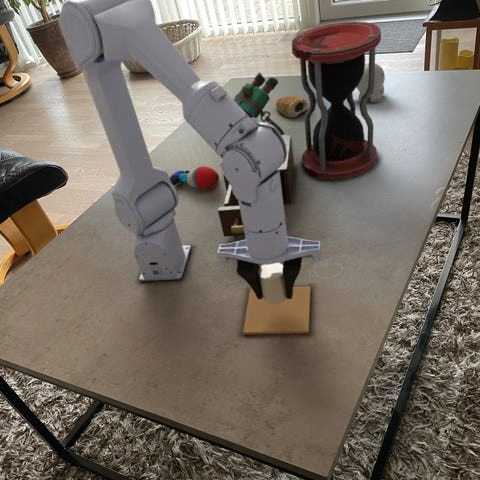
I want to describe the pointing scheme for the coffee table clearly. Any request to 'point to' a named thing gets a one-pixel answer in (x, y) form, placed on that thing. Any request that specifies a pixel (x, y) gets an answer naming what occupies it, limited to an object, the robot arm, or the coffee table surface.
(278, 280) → the cream cylinder
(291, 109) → the pastry
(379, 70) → the round bodied animal figurine
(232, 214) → the drawer
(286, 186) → the cabinet
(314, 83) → the hourglass
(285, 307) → the cork mat
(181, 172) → the toy figure
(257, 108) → the binoculars
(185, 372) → the coffee table surface
